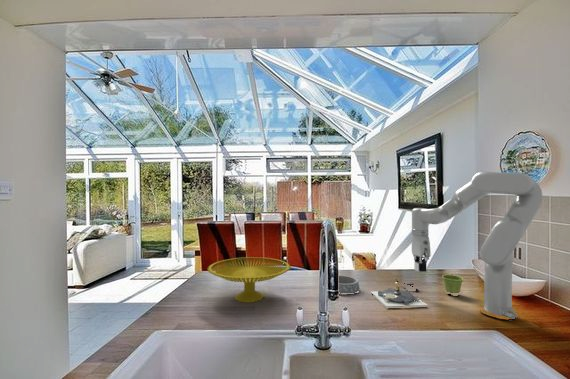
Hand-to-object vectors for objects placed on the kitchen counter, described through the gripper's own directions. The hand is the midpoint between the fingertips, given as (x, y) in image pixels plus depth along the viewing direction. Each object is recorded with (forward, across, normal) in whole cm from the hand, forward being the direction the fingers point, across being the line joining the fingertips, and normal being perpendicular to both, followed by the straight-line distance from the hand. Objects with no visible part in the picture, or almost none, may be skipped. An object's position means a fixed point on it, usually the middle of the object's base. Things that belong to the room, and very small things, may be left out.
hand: (420, 269), depth 149 cm
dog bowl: (+13, +13, +36) cm, 40 cm away
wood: (+13, +16, 0) cm, 21 cm away
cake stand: (+12, +4, +84) cm, 85 cm away
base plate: (+13, -5, +14) cm, 20 cm away
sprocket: (+11, -5, +14) cm, 19 cm away
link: (0, 0, 0) cm, 0 cm away
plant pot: (+13, 0, -17) cm, 22 cm away
